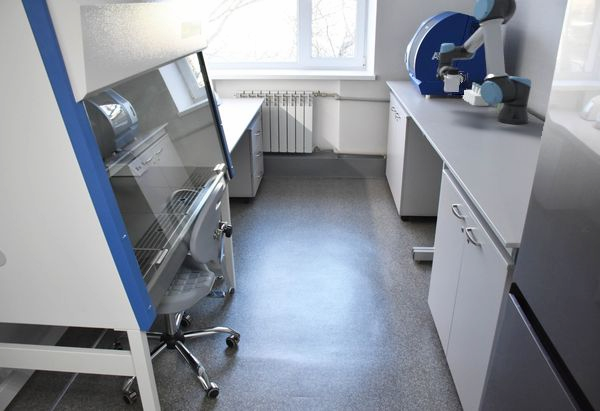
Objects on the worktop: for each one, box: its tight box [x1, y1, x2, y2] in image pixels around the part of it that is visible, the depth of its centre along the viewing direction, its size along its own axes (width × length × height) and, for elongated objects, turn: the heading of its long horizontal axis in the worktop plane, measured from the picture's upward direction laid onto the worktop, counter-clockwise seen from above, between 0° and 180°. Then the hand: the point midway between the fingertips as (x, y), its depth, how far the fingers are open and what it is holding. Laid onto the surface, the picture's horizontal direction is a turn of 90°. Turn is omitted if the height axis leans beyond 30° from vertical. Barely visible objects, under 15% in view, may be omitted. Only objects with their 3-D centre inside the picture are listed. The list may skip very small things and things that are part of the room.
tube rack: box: [462, 82, 490, 107], centre depth 307 cm, size 22×9×11 cm, turn 1°
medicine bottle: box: [443, 67, 460, 93], centre depth 260 cm, size 7×7×12 cm
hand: (454, 79), depth 255 cm, fingers closed on medicine bottle, 7 cm apart
